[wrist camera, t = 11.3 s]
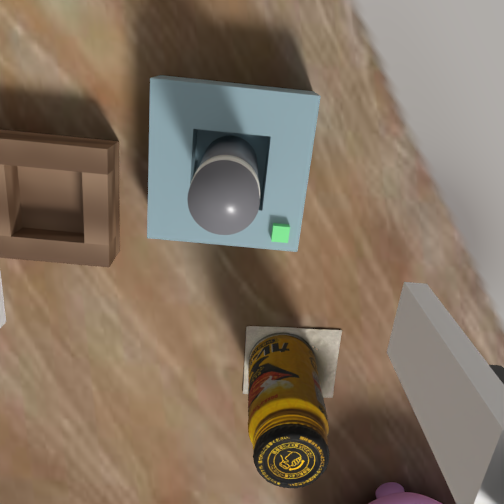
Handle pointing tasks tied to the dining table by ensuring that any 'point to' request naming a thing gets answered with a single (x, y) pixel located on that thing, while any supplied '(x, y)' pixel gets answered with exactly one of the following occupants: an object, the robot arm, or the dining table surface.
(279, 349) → the condiment
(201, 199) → the plug
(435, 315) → the robot arm
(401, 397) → the dining table surface
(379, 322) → the dining table surface
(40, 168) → the wooden square frame
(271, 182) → the port
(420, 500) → the teapot
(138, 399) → the dining table surface
